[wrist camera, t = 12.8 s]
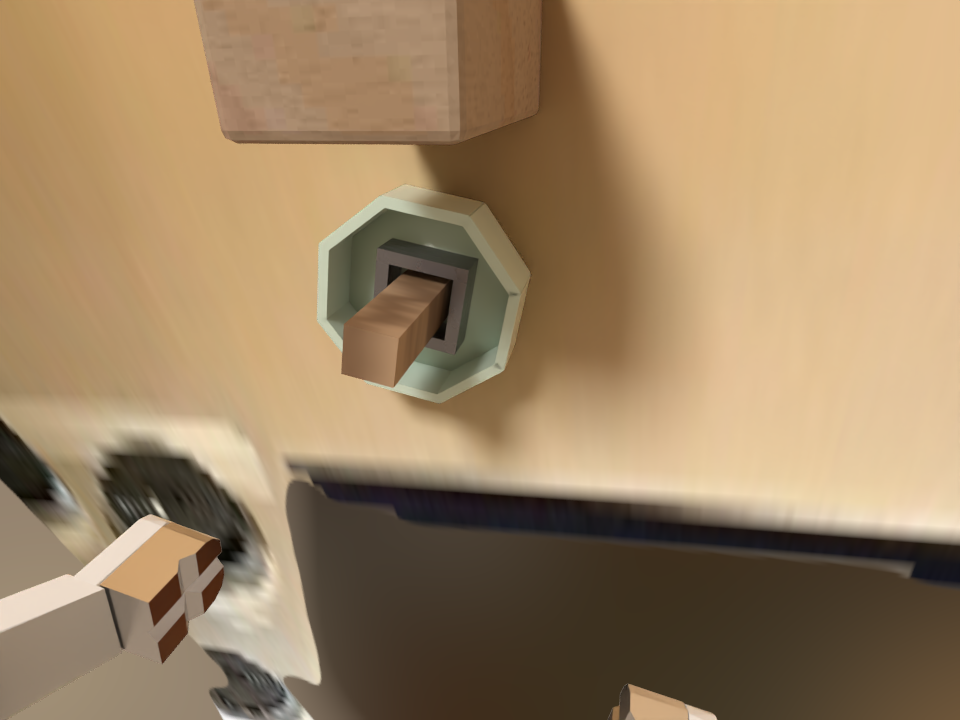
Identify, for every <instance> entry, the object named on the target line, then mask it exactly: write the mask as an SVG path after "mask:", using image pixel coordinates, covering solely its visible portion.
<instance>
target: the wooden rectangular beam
mask: <svg viewBox="0 0 960 720" xmlns="http://www.w3.org/2000/svg"><path fill="white" fill-rule="evenodd" d="M452 286H453V280H451V279H447V278H443V277H439V276H435V275H431V274H427V273H423V272H419V271H414V270H410V269H407V270H406V271H405V272H404V273H403V274H402V275H400V276H399V277H398V278H397V279H396V280H395V281H393V282H392V283H391V284H390V285H389V286H388V287H386V288H385V289H384V290H383V291H382V292H381V293H379V294H378V295H377V296H376V297H375V298H374V299H372V300H371V301H370V302H369V303H368V304H367V305H365V306H364V307H363V308H362V309H361V310H360V311H359V312H357V313H356V314H355V315H354V316H353V317H352V318H350V319H349V320H348V321H347V322H346V323H345V324H344V329H343V351H342V373H341V374H344V375H348V376H351V377H355V378H359V379H362V380H366V381H370V382H373V383H377V384H381V385H384V386H388V387H391V388H394V387H395V386H396V384H397V383H398V382H399V380H400V379H401V378H402V376H403V375H404V374H405V372H406V371H407V370H408V368H409V367H410V366H411V364H412V363H413V362H414V360H415V359H416V358H417V356H418V355H419V354H420V353H421V351H422V350H423V349H424V347H425V346H426V345H427V343H428V342H429V341H430V339H431V338H432V337H433V335H434V334H435V333H436V331H437V330H438V329H439V327H440V326H441V325H442V323H443V322H444V321H445V319H446V318H447V317H448V313H449V306H450V299H451V292H452Z"/></svg>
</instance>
